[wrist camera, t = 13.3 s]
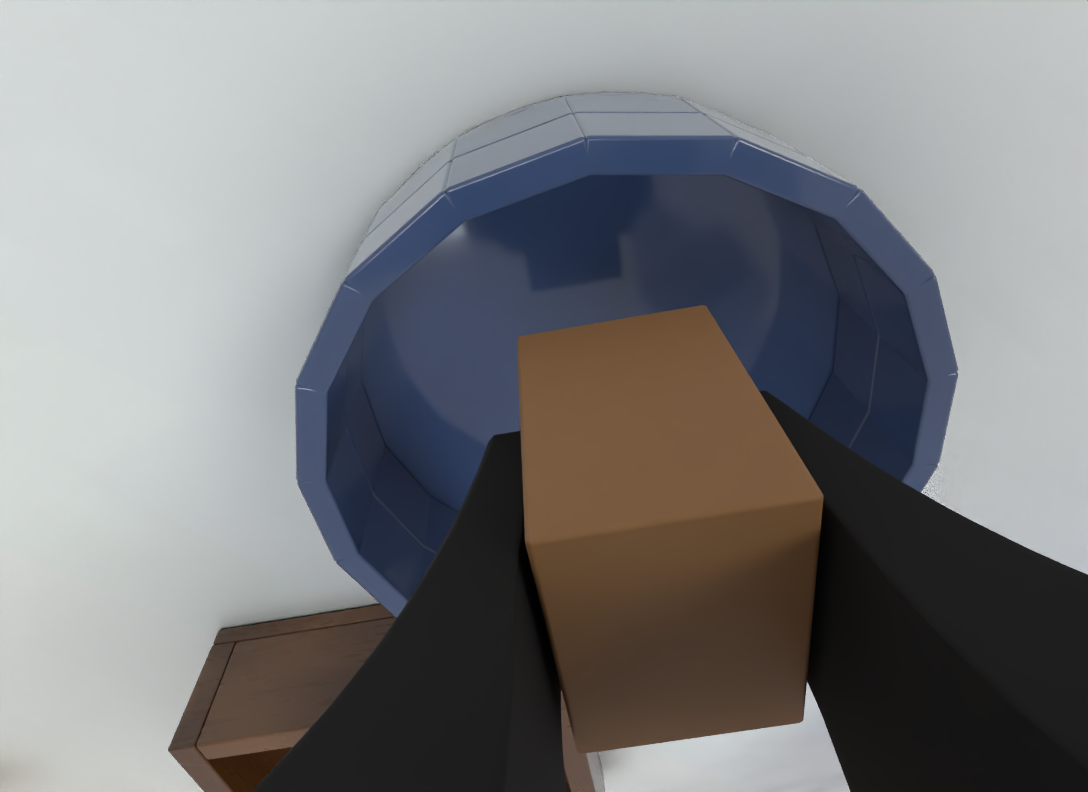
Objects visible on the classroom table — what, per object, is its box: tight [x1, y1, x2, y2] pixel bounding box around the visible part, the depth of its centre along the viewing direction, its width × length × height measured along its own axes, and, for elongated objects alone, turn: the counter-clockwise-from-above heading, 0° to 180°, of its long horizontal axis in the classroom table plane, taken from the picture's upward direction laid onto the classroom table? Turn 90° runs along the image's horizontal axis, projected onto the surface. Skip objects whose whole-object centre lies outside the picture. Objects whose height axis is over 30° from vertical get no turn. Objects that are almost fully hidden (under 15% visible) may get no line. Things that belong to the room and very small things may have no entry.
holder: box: [168, 604, 605, 792], centre depth 24 cm, size 12×13×4 cm
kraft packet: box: [517, 305, 823, 754], centre depth 9 cm, size 3×4×4 cm
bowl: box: [295, 92, 958, 618], centre depth 15 cm, size 13×13×4 cm
